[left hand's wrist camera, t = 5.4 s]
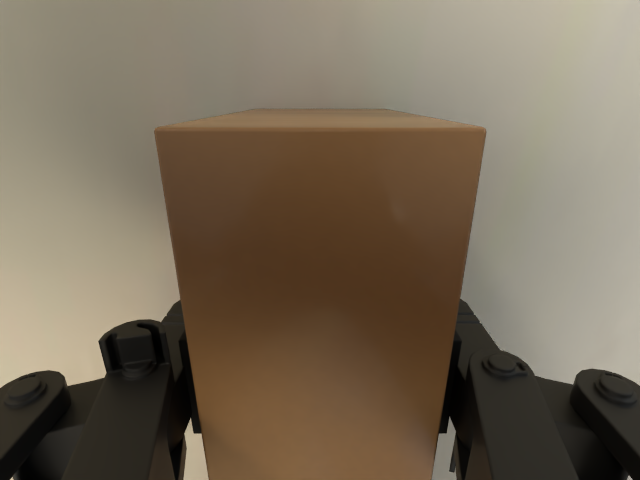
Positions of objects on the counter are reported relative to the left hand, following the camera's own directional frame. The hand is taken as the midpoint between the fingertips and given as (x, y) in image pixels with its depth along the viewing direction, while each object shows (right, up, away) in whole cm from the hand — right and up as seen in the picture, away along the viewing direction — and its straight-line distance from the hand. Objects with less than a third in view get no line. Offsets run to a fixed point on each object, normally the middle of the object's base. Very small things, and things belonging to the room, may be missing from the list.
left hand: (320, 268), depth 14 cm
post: (0, -21, +9) cm, 23 cm away
